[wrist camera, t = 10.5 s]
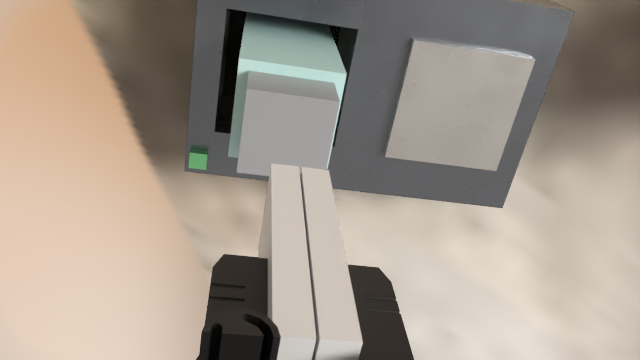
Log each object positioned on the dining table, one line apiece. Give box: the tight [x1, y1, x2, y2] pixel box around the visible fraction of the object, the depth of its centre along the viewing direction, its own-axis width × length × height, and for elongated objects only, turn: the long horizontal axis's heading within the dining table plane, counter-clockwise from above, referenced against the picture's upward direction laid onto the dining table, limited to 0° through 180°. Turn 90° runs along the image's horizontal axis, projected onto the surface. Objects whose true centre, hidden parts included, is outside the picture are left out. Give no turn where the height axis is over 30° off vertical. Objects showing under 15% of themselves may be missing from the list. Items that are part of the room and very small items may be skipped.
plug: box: [228, 12, 347, 176], centre depth 25 cm, size 4×4×11 cm
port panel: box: [185, 0, 574, 208], centre depth 28 cm, size 10×16×5 cm, turn 80°
